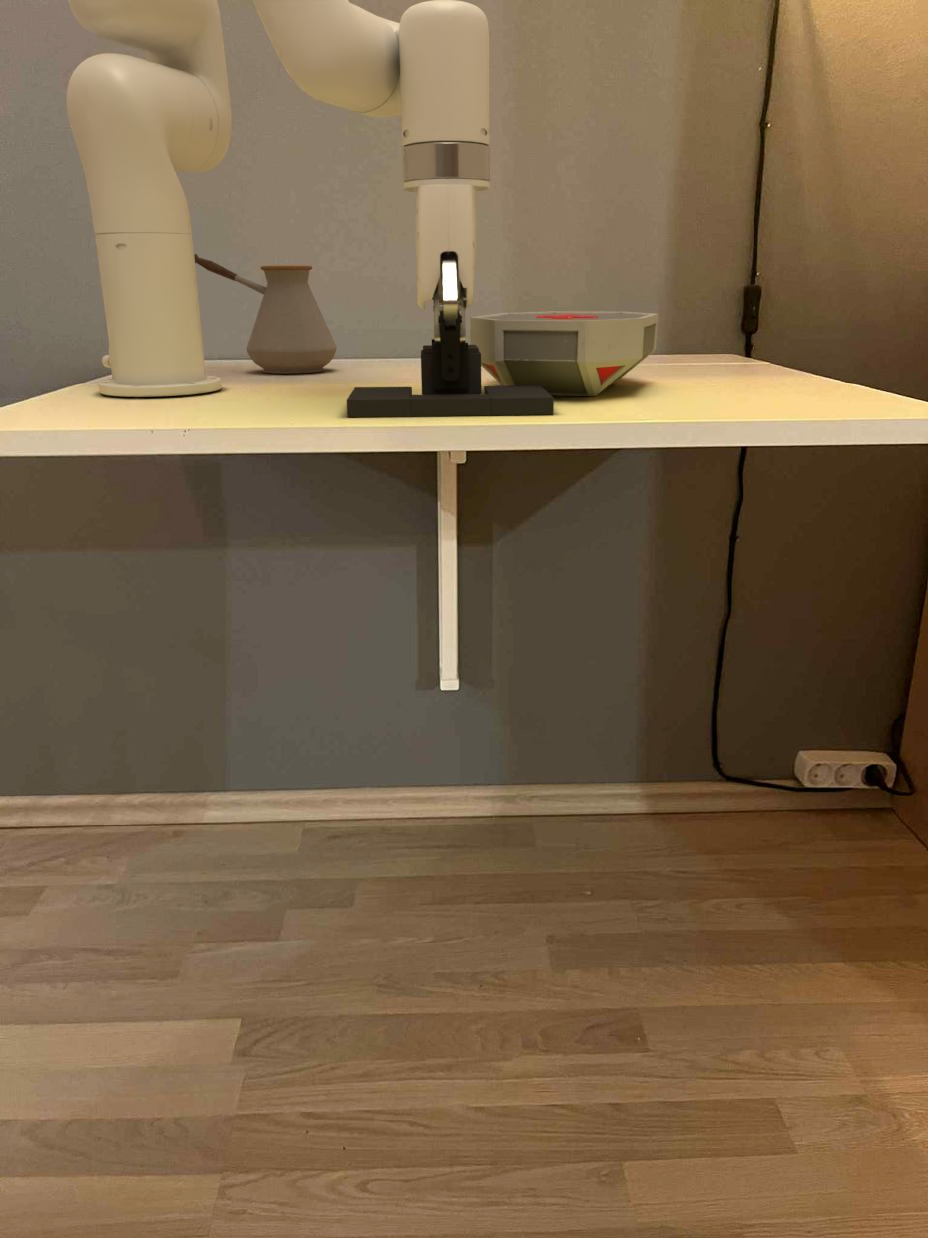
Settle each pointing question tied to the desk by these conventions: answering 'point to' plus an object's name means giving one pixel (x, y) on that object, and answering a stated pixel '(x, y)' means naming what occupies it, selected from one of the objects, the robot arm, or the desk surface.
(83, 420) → the desk surface
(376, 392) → the base pad
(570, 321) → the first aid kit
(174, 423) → the desk surface
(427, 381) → the black squarish block
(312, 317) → the coffee pot
